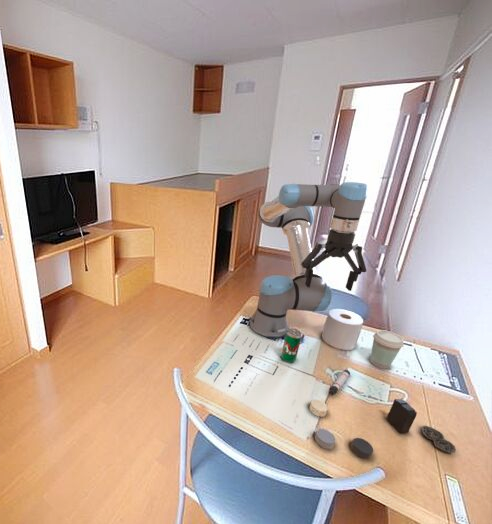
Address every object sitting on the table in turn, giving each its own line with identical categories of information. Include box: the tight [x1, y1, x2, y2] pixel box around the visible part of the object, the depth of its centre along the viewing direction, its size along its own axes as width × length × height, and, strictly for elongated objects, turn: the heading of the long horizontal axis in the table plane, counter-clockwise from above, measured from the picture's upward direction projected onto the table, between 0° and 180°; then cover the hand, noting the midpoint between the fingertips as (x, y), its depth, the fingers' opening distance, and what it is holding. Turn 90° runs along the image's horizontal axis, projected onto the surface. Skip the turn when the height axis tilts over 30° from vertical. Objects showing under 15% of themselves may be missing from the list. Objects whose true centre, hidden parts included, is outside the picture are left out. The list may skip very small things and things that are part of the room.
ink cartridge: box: [386, 398, 418, 434], centre depth 85 cm, size 5×2×8 cm, turn 2°
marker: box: [329, 369, 351, 396], centre depth 101 cm, size 15×2×2 cm, turn 131°
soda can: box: [280, 328, 303, 364], centre depth 111 cm, size 5×5×12 cm
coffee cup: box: [369, 329, 404, 370], centre depth 109 cm, size 8×8×12 cm
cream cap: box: [309, 399, 329, 418], centre depth 91 cm, size 4×4×2 cm
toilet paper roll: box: [321, 308, 364, 351], centre depth 121 cm, size 12×12×12 cm
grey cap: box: [314, 428, 336, 450], centre depth 82 cm, size 4×4×2 cm
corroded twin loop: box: [421, 425, 456, 454], centre depth 82 cm, size 5×8×1 cm, turn 3°
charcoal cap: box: [350, 437, 374, 460], centre depth 79 cm, size 4×4×2 cm
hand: (327, 287), depth 109 cm, fingers open, 13 cm apart
